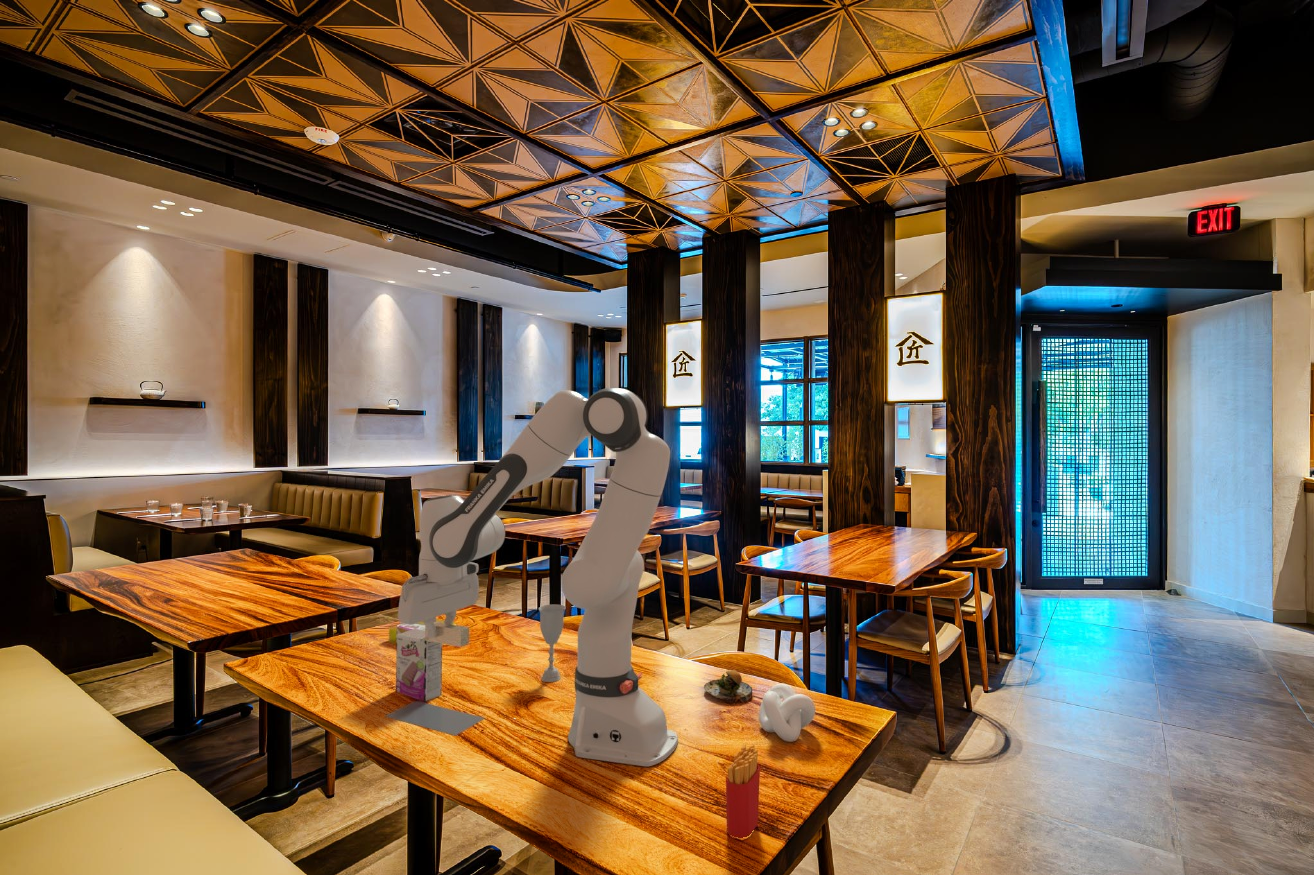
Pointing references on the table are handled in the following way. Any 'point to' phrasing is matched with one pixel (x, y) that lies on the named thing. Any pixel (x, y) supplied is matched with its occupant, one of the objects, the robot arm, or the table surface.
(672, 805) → the table surface
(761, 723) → the white knot sculpture
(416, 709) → the plate
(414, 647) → the candy bar box
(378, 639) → the table surface
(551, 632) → the chalice
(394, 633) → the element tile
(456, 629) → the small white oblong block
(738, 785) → the french fries
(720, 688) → the burger
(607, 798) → the table surface
